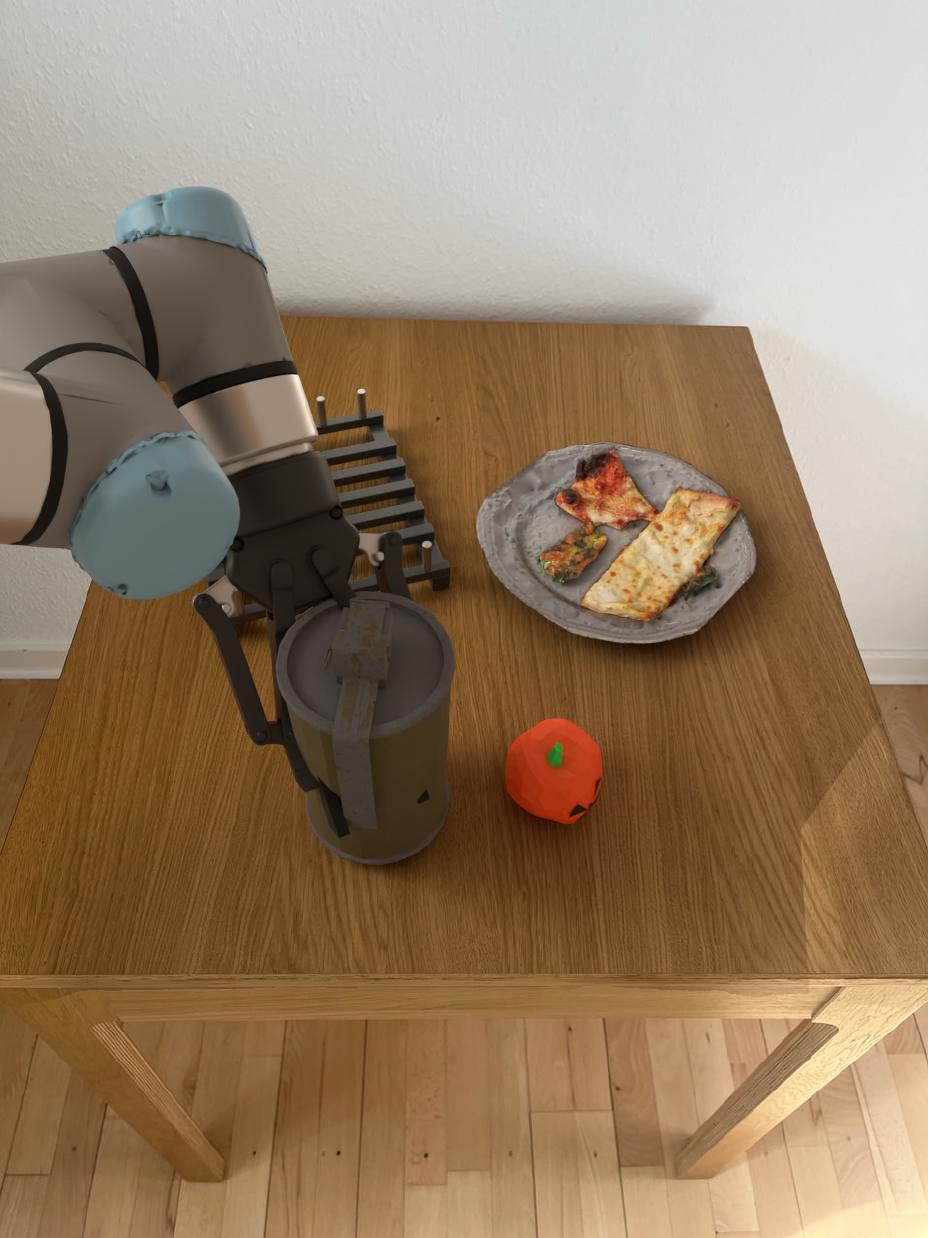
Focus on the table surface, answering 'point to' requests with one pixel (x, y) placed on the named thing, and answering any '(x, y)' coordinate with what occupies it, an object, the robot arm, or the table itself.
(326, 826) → the canister
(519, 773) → the pumpkin
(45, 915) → the table surface
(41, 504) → the robot arm
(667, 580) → the food plate
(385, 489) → the dish rack
